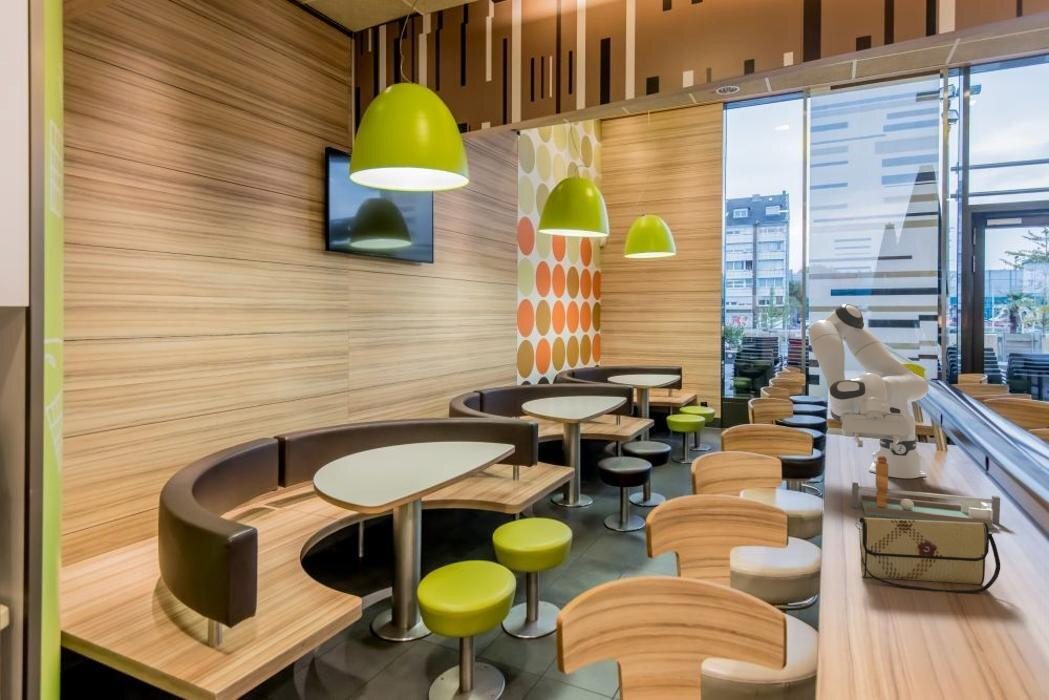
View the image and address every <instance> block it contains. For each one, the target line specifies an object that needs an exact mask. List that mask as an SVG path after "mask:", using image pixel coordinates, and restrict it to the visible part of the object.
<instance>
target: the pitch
mask: <svg viewBox="0 0 1049 700" xmlns="http://www.w3.org/2000/svg"><path fill="white" fill-rule="evenodd" d="M851 485H852V486H851V508H853V509H859V491H863V492H874V493H876V492H878V488H877V487H869V486H861V485H860V486H859V482H854V481H853V482H852V483H851ZM887 494H894V495H905V496H915V497H925V498H933V499H934V498H935V499H943V500H945V499H946V500H954V501H955V500H956V501H960V504H955V503H946V502H945V503H944V502H936V501H935V502H934V501H928V500H927V501H925V500H916V499H910V500H911V501H912V502H913V503H914V507H913V509H911V510H905V509H903V508H902V507H901V505H900V502H901V500H903V499H904V498H897V497H888V496H887V508H884V507H878V506H877V504H876V496H875V495H868V494H866V495H865V494H861V495H860V496H861V498H860V501H861V502H862V503H861V504H862V508H863V511H864V514H865V515H866V516H873V515H875V516H874V517H882V516H884V518H890V517H891V518H890V519H907V520H930V521H952V522H975V523H986V524H987V526H988V530H992V529H993V524H995V525H1000V516H1001V515H1000V514H1001V513H1000V511H1001V497H1000V496H997V495H991V498H984V497H972V496H963V495H953V494H942V493H941V494H940V493H933V492H922V491H910V490H900V489H891V488H888V489H887ZM988 504H991V507H990V506H989V505H988Z"/></svg>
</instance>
